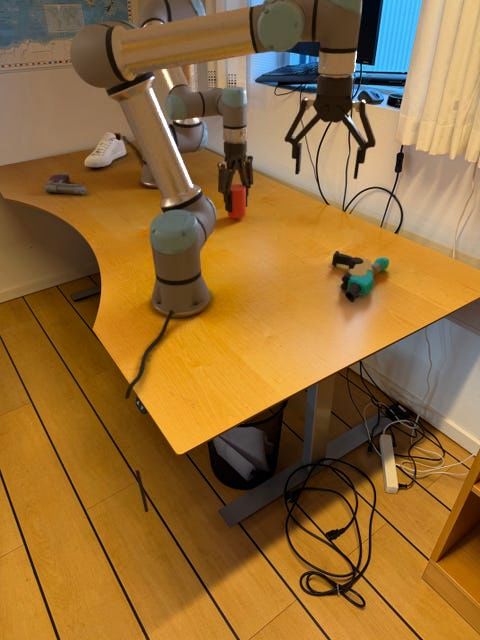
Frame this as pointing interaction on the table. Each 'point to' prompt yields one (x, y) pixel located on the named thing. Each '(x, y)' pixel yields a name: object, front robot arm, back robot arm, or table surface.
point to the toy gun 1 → (63, 185)
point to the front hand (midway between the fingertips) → (326, 174)
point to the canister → (238, 201)
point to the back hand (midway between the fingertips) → (236, 208)
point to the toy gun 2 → (358, 274)
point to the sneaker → (106, 151)
